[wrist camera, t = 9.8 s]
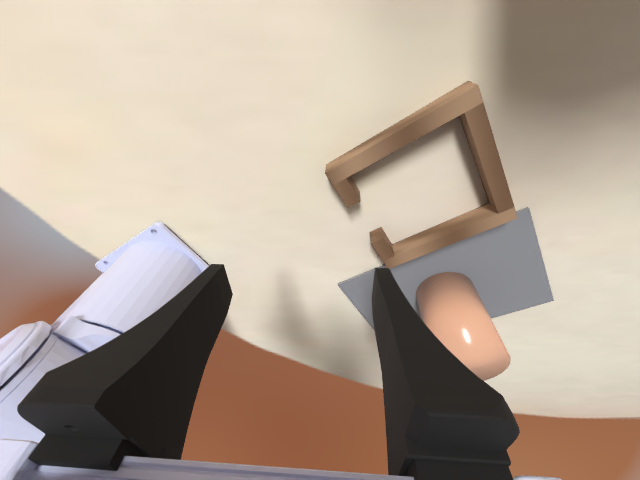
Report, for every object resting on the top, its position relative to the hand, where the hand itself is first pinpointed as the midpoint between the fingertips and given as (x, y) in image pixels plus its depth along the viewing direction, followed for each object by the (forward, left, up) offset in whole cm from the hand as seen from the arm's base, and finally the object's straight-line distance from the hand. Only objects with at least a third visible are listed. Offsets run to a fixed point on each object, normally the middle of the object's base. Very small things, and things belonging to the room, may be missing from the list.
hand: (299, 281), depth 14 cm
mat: (+5, -14, -9) cm, 18 cm away
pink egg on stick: (+4, -16, -9) cm, 19 cm away
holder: (+7, -3, -9) cm, 12 cm away
